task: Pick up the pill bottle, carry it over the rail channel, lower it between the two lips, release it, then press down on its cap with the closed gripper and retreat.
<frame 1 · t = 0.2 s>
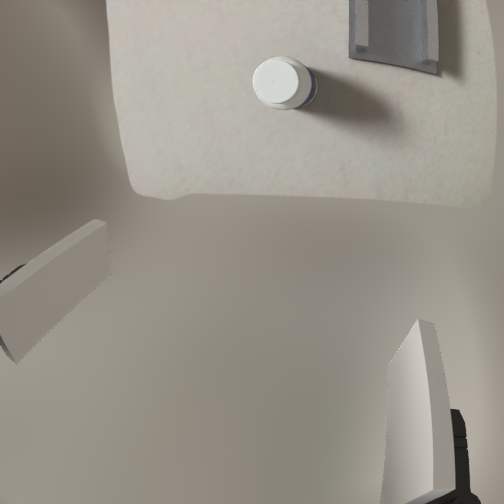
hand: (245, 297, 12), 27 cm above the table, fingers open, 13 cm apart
pill bottle: (294, 86, 31), on the table
rail channel: (392, 3, 22), on the table
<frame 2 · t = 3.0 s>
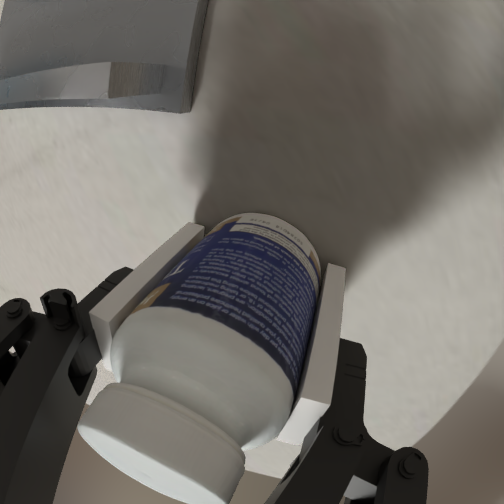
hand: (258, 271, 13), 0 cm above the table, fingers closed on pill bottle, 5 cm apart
pill bottle: (262, 265, 14), on the table, touching gripper
rail channel: (72, 17, 10), on the table
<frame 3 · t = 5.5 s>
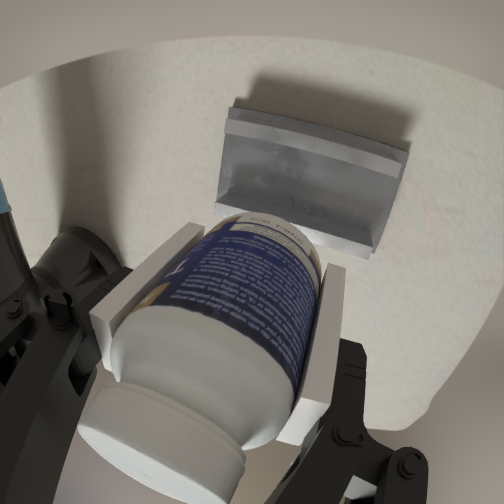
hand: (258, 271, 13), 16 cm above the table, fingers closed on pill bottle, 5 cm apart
pill bottle: (262, 264, 14), point 16 cm above the table, touching gripper
rail channel: (307, 177, 27), on the table
when the fingers open (2 cm above the table, at t = 8.2 s): pill bottle drops 1 cm, resting on rail channel.
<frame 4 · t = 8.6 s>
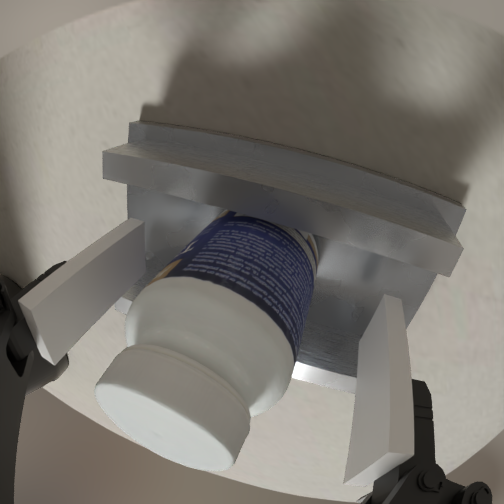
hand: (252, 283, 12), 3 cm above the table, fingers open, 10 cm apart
pill bottle: (263, 250, 15), point 1 cm above the table, touching rail channel
rail channel: (271, 247, 15), on the table
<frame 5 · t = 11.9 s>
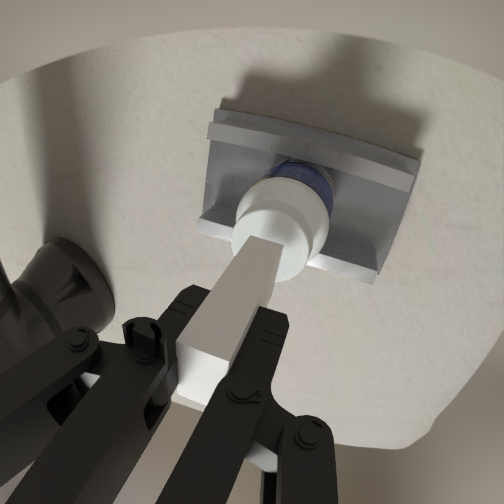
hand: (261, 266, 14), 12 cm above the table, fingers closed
pill bottle: (300, 189, 23), point 1 cm above the table, touching rail channel
rail channel: (304, 189, 24), on the table
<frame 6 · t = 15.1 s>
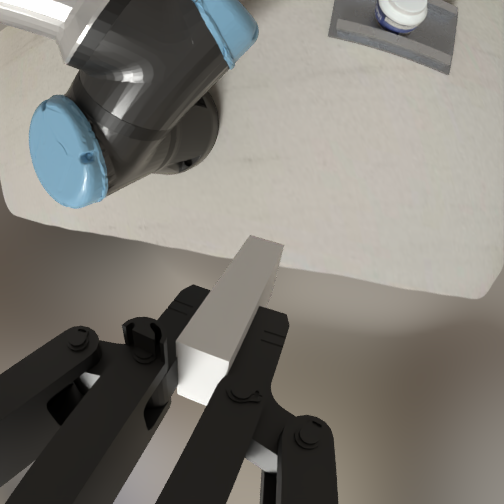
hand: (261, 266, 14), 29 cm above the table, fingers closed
pill bottle: (394, 18, 26), point 1 cm above the table, touching rail channel
rail channel: (395, 20, 26), on the table
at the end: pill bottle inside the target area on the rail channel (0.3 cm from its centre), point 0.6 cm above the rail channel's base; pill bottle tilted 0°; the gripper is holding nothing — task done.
